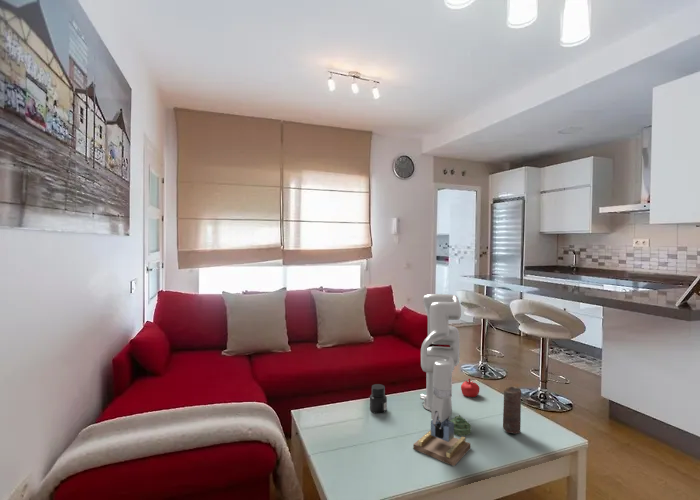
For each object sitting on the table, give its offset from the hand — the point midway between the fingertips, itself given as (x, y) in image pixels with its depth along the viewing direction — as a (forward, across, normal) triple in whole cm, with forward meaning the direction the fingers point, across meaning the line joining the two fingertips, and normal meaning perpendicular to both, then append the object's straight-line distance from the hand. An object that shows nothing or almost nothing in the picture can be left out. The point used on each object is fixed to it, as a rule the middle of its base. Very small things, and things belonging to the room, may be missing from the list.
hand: (442, 434), depth 152 cm
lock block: (+1, 0, 0) cm, 1 cm away
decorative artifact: (+7, -19, -1) cm, 20 cm away
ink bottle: (+6, -11, -41) cm, 43 cm away
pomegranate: (+6, -59, -12) cm, 61 cm away
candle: (+6, -33, +18) cm, 38 cm away
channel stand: (+6, 0, 0) cm, 6 cm away
